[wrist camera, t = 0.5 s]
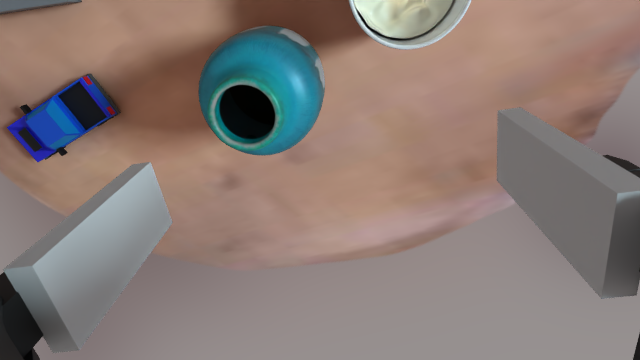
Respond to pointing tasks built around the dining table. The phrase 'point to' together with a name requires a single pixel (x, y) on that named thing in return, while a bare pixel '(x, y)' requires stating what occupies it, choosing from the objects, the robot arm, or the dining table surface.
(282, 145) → the vase
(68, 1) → the tray
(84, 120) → the toy car
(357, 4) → the candle holder
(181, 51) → the dining table surface
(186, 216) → the dining table surface
